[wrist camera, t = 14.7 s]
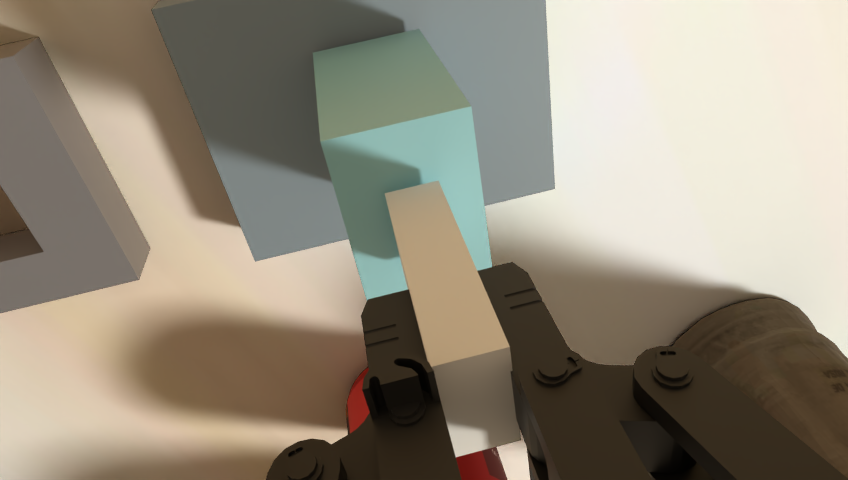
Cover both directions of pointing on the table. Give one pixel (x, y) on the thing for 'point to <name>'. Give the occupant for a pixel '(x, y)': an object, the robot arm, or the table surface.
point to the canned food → (476, 469)
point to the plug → (396, 146)
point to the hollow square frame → (57, 191)
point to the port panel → (297, 104)
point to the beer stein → (780, 369)
